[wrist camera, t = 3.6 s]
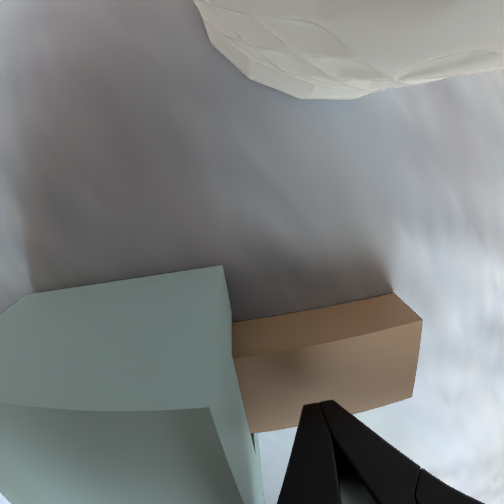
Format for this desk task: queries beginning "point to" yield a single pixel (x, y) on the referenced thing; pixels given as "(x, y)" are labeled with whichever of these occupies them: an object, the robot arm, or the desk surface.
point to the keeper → (125, 396)
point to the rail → (326, 359)
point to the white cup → (355, 42)
